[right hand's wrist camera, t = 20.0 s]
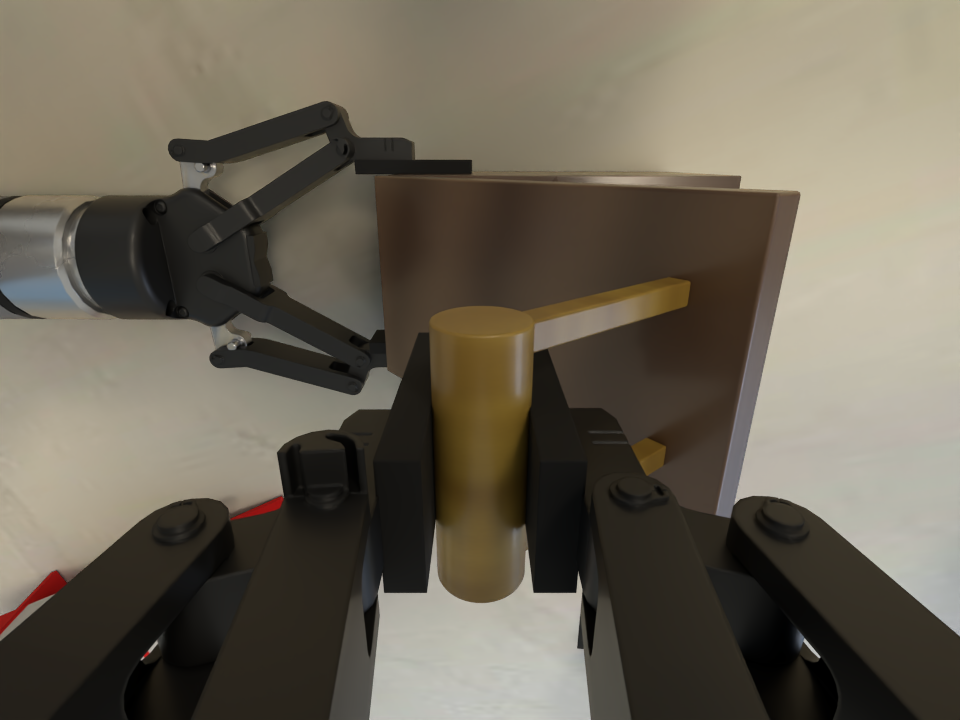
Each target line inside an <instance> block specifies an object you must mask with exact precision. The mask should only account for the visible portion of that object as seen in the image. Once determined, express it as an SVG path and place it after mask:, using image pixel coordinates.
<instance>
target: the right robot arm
mask: <svg viewBox="0 0 960 720" xmlns="http://www.w3.org/2000/svg"><path fill="white" fill-rule="evenodd" d="M277 456H278V462H279V468H280V474H281V480H282V486H283V492H284V499H283V502H282V504H281V507H280V508H279V509H277V510H274V511H270V512H267V513H263V514H259V515H254V516H249V517H244V518H239V519H234V520H230V515H229V511H228V508H227V507H226V506H225V505H224V504H223V503H222V502H221V501H217V500H213V499H209V498H201V499H188V500H184V501H178V502H175V503H172V504H170V505H168V506H165V507H163V508H161V509H158V510H156V511H154V512H153V513H151V514H150V515H148V516H147V517H145V518H144V519H142V520H141V521H139V522H138V523H137V524H136V525H135V526H134V527H132V528H131V529H130V530H129V531H128V532H127V533H125V534H124V535H123V536H122V537H121V538H120V539H119V540H117V541H116V542H115V543H114V544H113V545H112V546H110V547H109V548H108V549H107V550H106V551H105V552H103V553H102V554H101V555H100V556H99V557H98V558H96V559H95V560H94V561H93V562H92V563H91V564H89V565H88V566H87V567H86V568H85V569H84V570H82V571H81V572H80V573H79V574H78V575H77V576H75V577H74V578H73V579H72V580H71V581H70V582H68V583H67V584H66V585H65V586H64V587H63V588H61V589H60V590H59V591H58V592H57V593H56V594H54V595H53V596H52V597H51V598H50V599H49V600H47V601H46V602H45V603H44V604H43V605H42V606H41V607H39V608H38V609H37V610H36V611H35V612H34V613H32V614H31V615H30V616H29V617H28V618H27V619H25V620H24V621H23V622H22V623H21V624H20V625H18V626H17V627H16V628H15V629H14V630H13V631H11V632H10V633H9V634H8V635H7V636H6V637H4V638H3V639H2V640H1V641H0V720H369V715H370V705H371V695H372V686H373V676H374V666H375V656H376V646H377V637H378V627H379V617H380V614H379V603H378V589H379V585H380V581H381V576H382V573H383V584H384V593H427V587H428V579H429V571H430V563H431V554H432V546H433V538H434V530H435V522H436V509H435V481H434V453H433V425H432V397H431V369H430V341H429V332H419V333H418V335H417V338H416V341H415V344H414V347H413V349H412V352H411V355H410V358H409V361H408V363H407V366H406V369H405V372H404V375H403V377H402V380H401V383H400V386H399V389H398V391H397V394H396V397H395V400H394V403H393V405H392V408H391V410H358V411H356V412H355V413H354V414H352V415H351V416H349V417H348V418H347V419H345V420H344V422H343V424H342V426H341V428H340V429H339V430H323V431H316V432H311V433H308V434H304V435H301V436H298V437H296V438H294V439H292V440H291V441H289V442H287V443H286V444H284V445H283V446H282V448H281V449H280V450H279V451H278V452H277ZM525 526H526V534H527V543H528V551H529V559H530V567H531V575H532V583H533V591H534V593H576V589H577V578H578V572H579V576H580V580H581V584H582V589H583V592H582V603H581V614H580V624H579V635H578V646H577V648H579V649H584V655H585V665H586V675H587V685H588V694H589V704H590V714H591V720H960V636H959V635H957V634H956V633H955V632H954V631H953V630H951V629H950V628H949V627H948V626H947V625H946V624H944V623H943V622H942V621H941V620H940V619H939V618H937V617H936V616H935V615H934V614H933V613H932V612H930V611H929V610H928V609H927V608H926V607H924V606H923V605H922V604H921V603H920V602H919V601H917V600H916V599H915V598H914V597H913V596H912V595H910V594H909V593H908V592H907V591H906V590H904V589H903V588H902V587H901V586H900V585H899V584H897V583H896V582H895V581H894V580H893V579H892V578H890V577H889V576H888V575H887V574H886V573H885V572H883V571H882V570H881V569H880V568H879V567H877V566H876V565H875V564H874V563H873V562H872V561H870V560H869V559H868V558H867V557H866V556H865V555H863V554H862V553H861V552H860V551H859V550H858V549H856V548H855V547H854V546H853V545H852V544H850V543H849V542H848V541H847V540H846V539H845V538H843V537H842V536H841V535H840V534H839V533H838V532H836V531H835V530H834V529H833V528H832V527H831V526H829V525H828V524H827V523H826V522H825V521H823V520H822V519H821V518H820V517H818V516H817V515H815V514H814V513H812V512H811V511H809V510H808V509H806V508H804V507H801V506H799V505H797V504H794V503H792V502H790V501H788V500H784V499H778V498H775V497H768V496H751V497H747V498H743V499H740V500H739V501H738V502H737V503H736V504H735V505H734V506H733V509H732V513H731V518H727V517H722V516H718V515H713V514H708V513H703V512H698V511H695V510H691V509H687V508H684V507H682V506H680V505H679V503H678V501H677V499H676V497H675V495H674V494H673V492H672V491H671V490H670V488H669V487H667V486H666V485H664V484H663V483H661V482H660V481H658V480H657V479H654V478H652V477H649V476H646V474H645V472H644V470H643V468H642V466H641V464H640V462H639V461H638V459H637V457H636V455H635V453H634V451H633V449H632V447H631V445H630V444H628V440H627V438H626V436H625V434H623V430H622V428H621V426H620V425H619V423H618V421H617V419H616V418H615V417H613V416H612V415H611V414H609V413H608V412H607V411H605V410H604V409H602V408H569V407H568V404H567V401H566V399H565V396H564V393H563V390H562V387H561V385H560V382H559V379H558V376H557V373H556V371H555V368H554V365H553V362H552V359H551V357H550V354H549V351H548V349H545V350H542V351H539V352H536V353H534V356H533V380H532V403H531V407H530V415H529V440H528V466H527V491H526V517H525ZM804 638H805V639H806V640H807V641H808V642H809V644H810V645H811V646H812V647H813V648H814V649H815V651H816V652H817V653H818V654H819V655H820V657H821V658H818V657H817V656H816V655H815V654H814V653H813V652H812V651H811V650H810V649H809V648H808V647H807V645H806V644H805V643H804V642H803V641H804ZM156 641H157V642H158V644H157V645H156V646H155V648H154V649H153V650H152V651H151V652H150V654H148V655H147V656H146V657H145V658H144V659H143V660H141V659H142V657H143V656H144V655H145V654H146V653H147V651H148V650H149V649H150V648H151V647H152V646H153V644H154V643H155V642H156Z"/></svg>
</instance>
